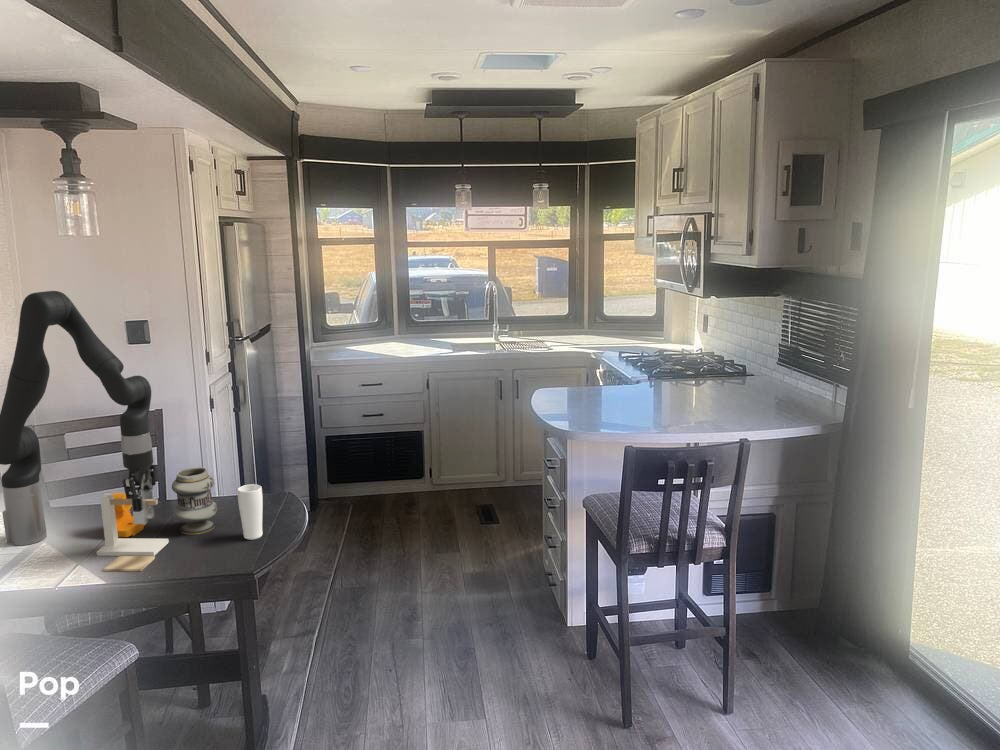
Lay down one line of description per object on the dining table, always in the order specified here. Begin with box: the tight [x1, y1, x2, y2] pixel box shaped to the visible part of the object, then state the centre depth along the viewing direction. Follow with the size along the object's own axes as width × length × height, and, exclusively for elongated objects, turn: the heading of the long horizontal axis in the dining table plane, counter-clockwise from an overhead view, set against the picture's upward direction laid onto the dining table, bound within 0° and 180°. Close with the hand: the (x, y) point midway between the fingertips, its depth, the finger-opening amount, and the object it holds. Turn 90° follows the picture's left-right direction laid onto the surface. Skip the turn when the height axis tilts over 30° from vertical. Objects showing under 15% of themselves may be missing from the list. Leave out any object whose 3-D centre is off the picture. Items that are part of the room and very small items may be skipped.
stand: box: [96, 493, 170, 557], centre depth 216 cm, size 16×9×16 cm, turn 88°
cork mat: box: [103, 555, 156, 572], centre depth 208 cm, size 10×8×1 cm
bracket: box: [110, 492, 148, 538], centre depth 228 cm, size 11×7×12 cm, turn 174°
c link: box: [131, 489, 155, 525], centre depth 215 cm, size 3×6×8 cm, turn 178°
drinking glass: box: [237, 483, 264, 541], centre depth 224 cm, size 7×7×15 cm
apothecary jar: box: [171, 466, 218, 536], centre depth 230 cm, size 12×12×18 cm
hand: (143, 506), depth 215 cm, fingers closed on c link, 5 cm apart
